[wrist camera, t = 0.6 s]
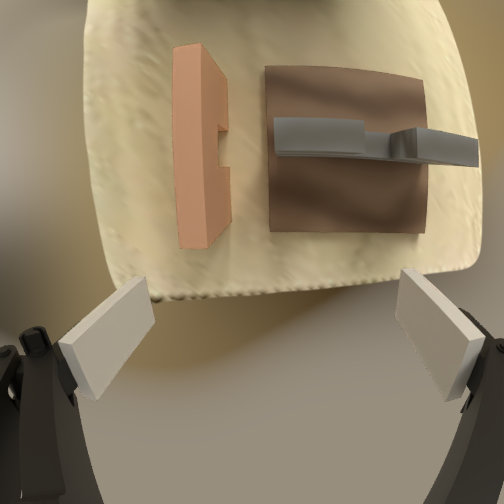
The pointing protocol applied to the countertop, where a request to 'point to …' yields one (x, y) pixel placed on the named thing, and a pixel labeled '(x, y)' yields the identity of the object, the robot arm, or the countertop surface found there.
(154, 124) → the countertop surface
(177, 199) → the terracotta plate
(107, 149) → the countertop surface
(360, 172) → the slotted stand
